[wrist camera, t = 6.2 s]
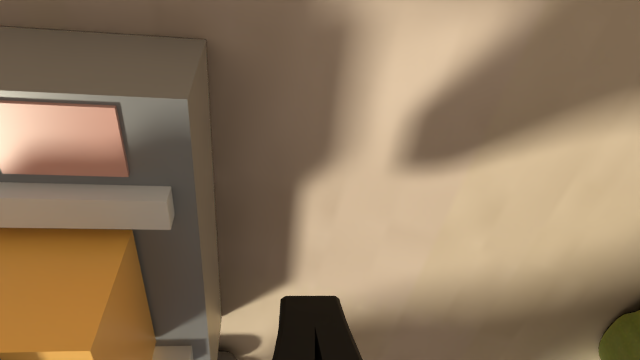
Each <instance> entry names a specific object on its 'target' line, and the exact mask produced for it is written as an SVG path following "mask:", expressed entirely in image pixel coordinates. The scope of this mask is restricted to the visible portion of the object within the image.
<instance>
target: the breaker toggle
mask: <svg viewBox="0 0 640 360" xmlns="http://www.w3.org/2000/svg"><path fill="white" fill-rule="evenodd" d="M155 344H156V339H155V334H154V329H153V325H152V320H151V315H150V310H149V306H148V301H147V296H146V292H145V287H144V282H143V278H142V273H141V268H140V263H139V259H138V254H137V249H136V245H135V240H134V235H133V231H132V230H121V229H45V228H0V360H152V357H153V353H154V348H155Z"/></svg>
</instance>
